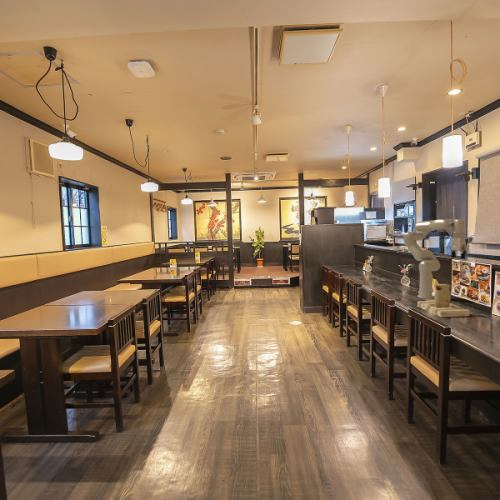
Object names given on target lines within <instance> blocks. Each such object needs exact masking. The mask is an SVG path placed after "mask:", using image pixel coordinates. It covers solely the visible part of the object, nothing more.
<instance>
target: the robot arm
mask: <svg viewBox="0 0 500 500" xmlns="http://www.w3.org/2000/svg"><path fill="white" fill-rule="evenodd" d="M466 226H467V220H466V219H463V218H462V219H461V218H458V219H455V218H447V219H445V218H444V219H435V220H434V219H432V220H424V221H418V222H416V223H415V224H414V229H415V230H410V231H407V232H405V233H404V235H403V243H404V245H405V246H406V248H407V249H408V250H409V252H410V253H411V255H412V257H413V258H414V259H415V260H416V261H417V262H420V263H419V264H418V270H419V290H418V291H417V293H418V294H417V295H416V297H418V298H420V299H425V300H427V299H428V300H429V299H430V300H432V299H435V295H433V282H434V281H433V278H434V276H433V273H432V272H437V271H439V270H440V268H441V263H440V261H439V260H438V259H437V257H436V255H435V254H434V253H433V252H432V251H431V250H429V249H422V248H421V246H420V245H419V244H418V243H417V242H418V241H419V242H420V241H422V240H424V239H425V238H426V237H427V235H429V233H430V232H434V231H436V230H452V229H453V230H452V231H453V232H452V236H453V237H452V238H451V242H450V246H449V248H450V250H449V251H450V253H451V256H450V257H451V258H456V257H457V252H460V260H465V259H466V254H467V252H468V250H469V248H468V247H467V242H466ZM416 241H417V242H416Z"/></svg>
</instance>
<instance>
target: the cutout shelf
mask: <svg viewBox="0 0 500 500" xmlns="http://www.w3.org/2000/svg"><path fill="white" fill-rule="evenodd" d="M416 306H417V307H418V308H420V309H423V310H425V311H426V312H429V313H431V314H433V315H435V316H438V317H440V318H447V317H449V318H450V317H452V318H453V317H469V316H470V310H469V309H467V308H464V307H461V306H459V305H456V304H453V303H451V302H450V305H449V308H437V307H434V300H424V301H422V300H420V301H419V300H418V301H417V305H416Z"/></svg>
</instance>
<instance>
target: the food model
mask: <svg viewBox="0 0 500 500" xmlns="http://www.w3.org/2000/svg"><path fill="white" fill-rule="evenodd" d="M433 299H434V300H433V301H434V307H437V308H449V305H450V303H451V285H450V284H448V283H437V284H436V285H435V288H434V298H433Z"/></svg>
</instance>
